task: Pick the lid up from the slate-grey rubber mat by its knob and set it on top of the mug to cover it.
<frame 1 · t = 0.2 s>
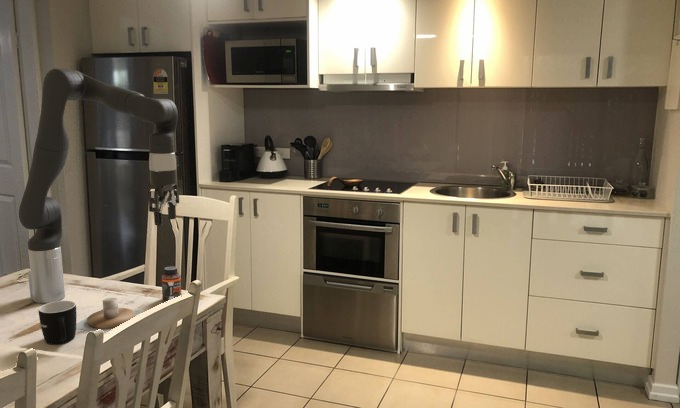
hand: (165, 222, 168), 28 cm above the table, fingers open, 8 cm apart
mug: (61, 344, 151), on the table
supplement bottle: (172, 302, 183), on the table
lid: (111, 320, 165), point 1 cm above the table, touching mat
mat: (111, 322, 165), on the table
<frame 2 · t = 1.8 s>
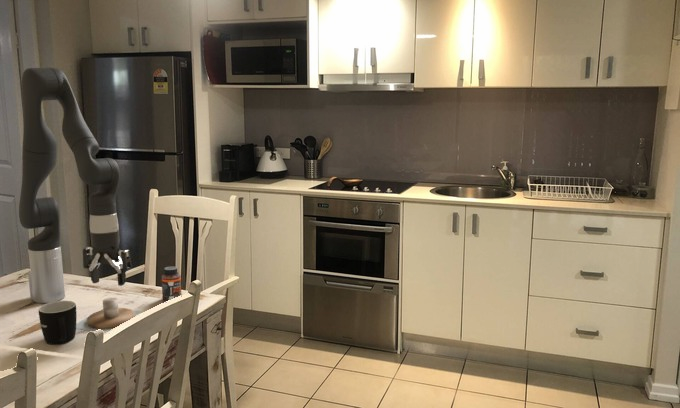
hand: (108, 283, 163), 12 cm above the table, fingers open, 8 cm apart
nothing on the table moved.
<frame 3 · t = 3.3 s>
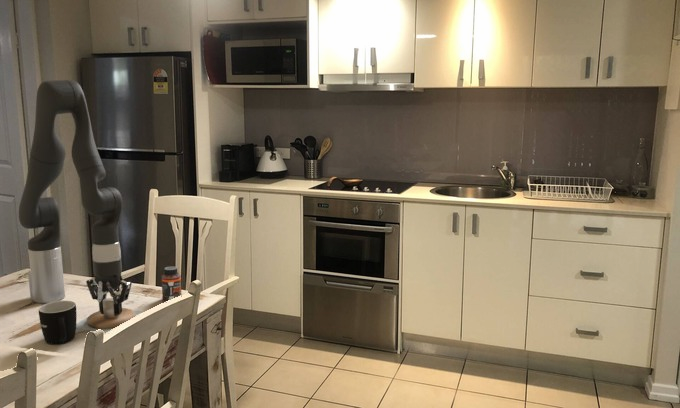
hand: (111, 313, 165), 3 cm above the table, fingers closed on lid, 4 cm apart
lid: (111, 320, 165), point 1 cm above the table, touching gripper, mat
everything else where it was.
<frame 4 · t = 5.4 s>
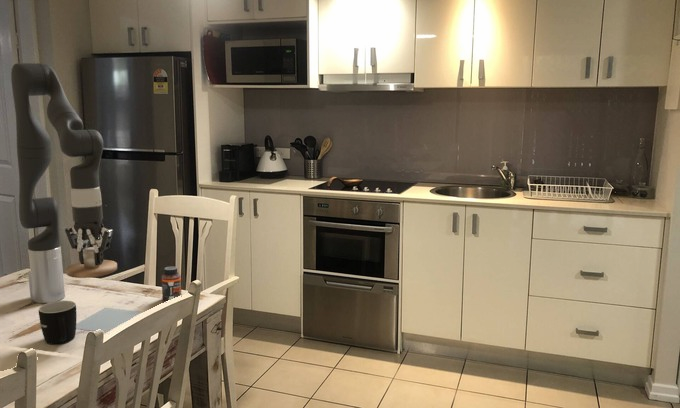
hand: (91, 263, 157), 19 cm above the table, fingers closed on lid, 4 cm apart
lid: (92, 270, 157), point 17 cm above the table, touching gripper
everything else where it was.
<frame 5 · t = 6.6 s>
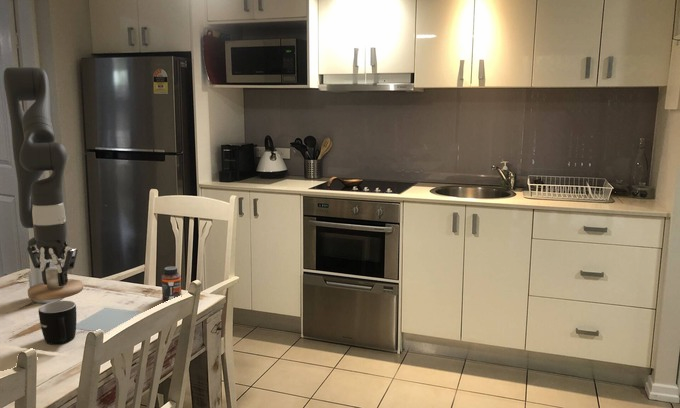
hand: (55, 284, 148), 17 cm above the table, fingers closed on lid, 4 cm apart
lid: (56, 291, 148), point 15 cm above the table, touching gripper
everything else where it was.
when the fingers open (13 cm above the table, at t = 7.5 s): lid drops 1 cm, resting on mug.
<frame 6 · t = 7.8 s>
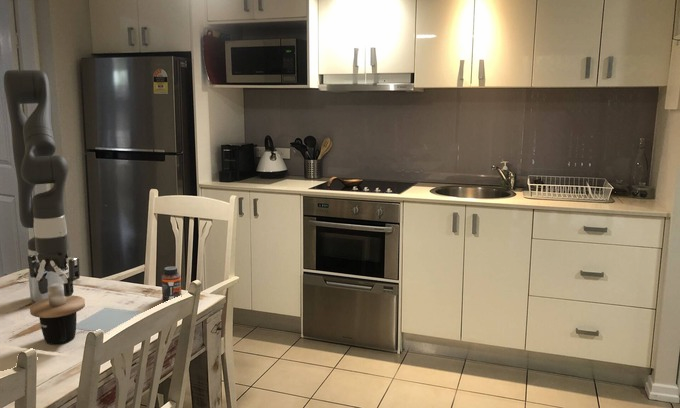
hand: (56, 294, 148), 14 cm above the table, fingers open, 7 cm apart
mug: (61, 344, 151), on the table, touching lid
lid: (58, 308, 149), point 10 cm above the table, touching mug
everything else where it was.
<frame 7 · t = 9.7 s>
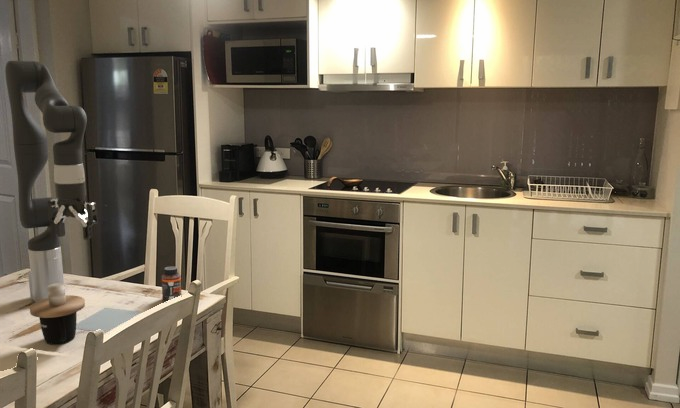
hand: (74, 237, 157), 27 cm above the table, fingers open, 8 cm apart
nothing on the table moved.
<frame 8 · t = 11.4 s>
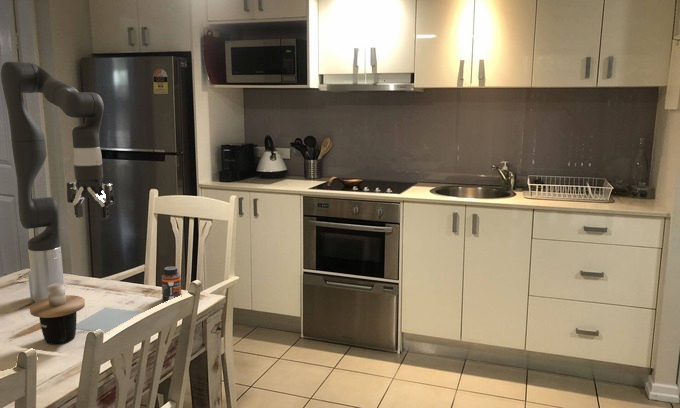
hand: (92, 218, 165), 30 cm above the table, fingers open, 8 cm apart
nothing on the table moved.
at the end: lid 0.1 cm from the mug (horizontally); lid point 10.1 cm above the table; lid tilted 0° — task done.
